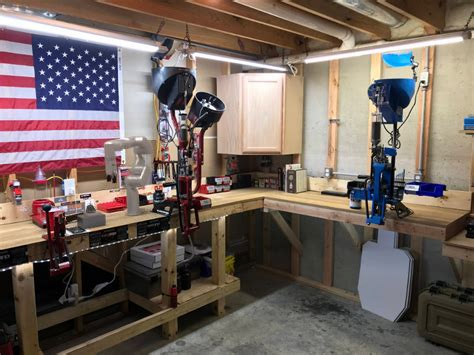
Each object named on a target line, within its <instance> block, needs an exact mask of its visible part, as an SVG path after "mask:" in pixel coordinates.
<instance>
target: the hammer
mask: <svg viewBox="0 0 474 355" xmlns="http://www.w3.org/2000/svg"><path fill="white" fill-rule="evenodd" d="M89 211H96V212H97V210H96V208H95V205H93V204H88V205H86V208H85V211H81V212H79V213H74V214H69V215H65V217H66V220H67V222H68V223H67V224H69V223H71V222H74V221H77V215H83V214H84V212H89Z"/></svg>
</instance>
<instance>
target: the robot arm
mask: <svg viewBox="0 0 474 355" xmlns="http://www.w3.org/2000/svg"><path fill="white" fill-rule="evenodd" d="M127 149H128V150H129V149H132V150H133V155H134V160H133V163H132V166H131V168H130V173H131V175H126V176H125V177H124V182H123V183H124V186H125V192H126V194H125V195H126V212H125V216H129V217H130V216H131V217H133V216H139V215H142V211H146V208H145V207H143V208H142V207H140V196H139V195H140V194H139V190H138V188H144V187H146V185H147V183H148V180H149V178H150V175H151V171H152V170H151V167H150V165H148V164H146V159H145V158H144V156H145V155H147V156H149V155H153V153H154V147H153V145H152V143H151V142H150V140H148V138H147V137H145V136H143V135H140V136H139V135H138V136H137V135H135V136H133V135H132V136H129V137H124V138H123V137H122V138H118V139H111V140H107V141H104V143H103V151H104V162H105V176H106V183H111V182H112V184H117V183H118V168H117V159H116V158H117V157H116V152H122V151H123V150H127ZM143 155H144V156H143Z"/></svg>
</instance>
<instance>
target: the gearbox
mask: <svg viewBox="0 0 474 355" xmlns="http://www.w3.org/2000/svg"><path fill="white" fill-rule="evenodd" d="M83 212H84V214H83V215H77V220H76V225H77V227H78V226H79V227H78V228H80V227H81V228H80V229H82V228H83V229H82V230H88V229H87V228H89V229H94V228H99V227H105V226H106V225H107V222H106V214H105V213H103V212H99V211H97V210H96V211H89V212H86V211H83Z"/></svg>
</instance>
